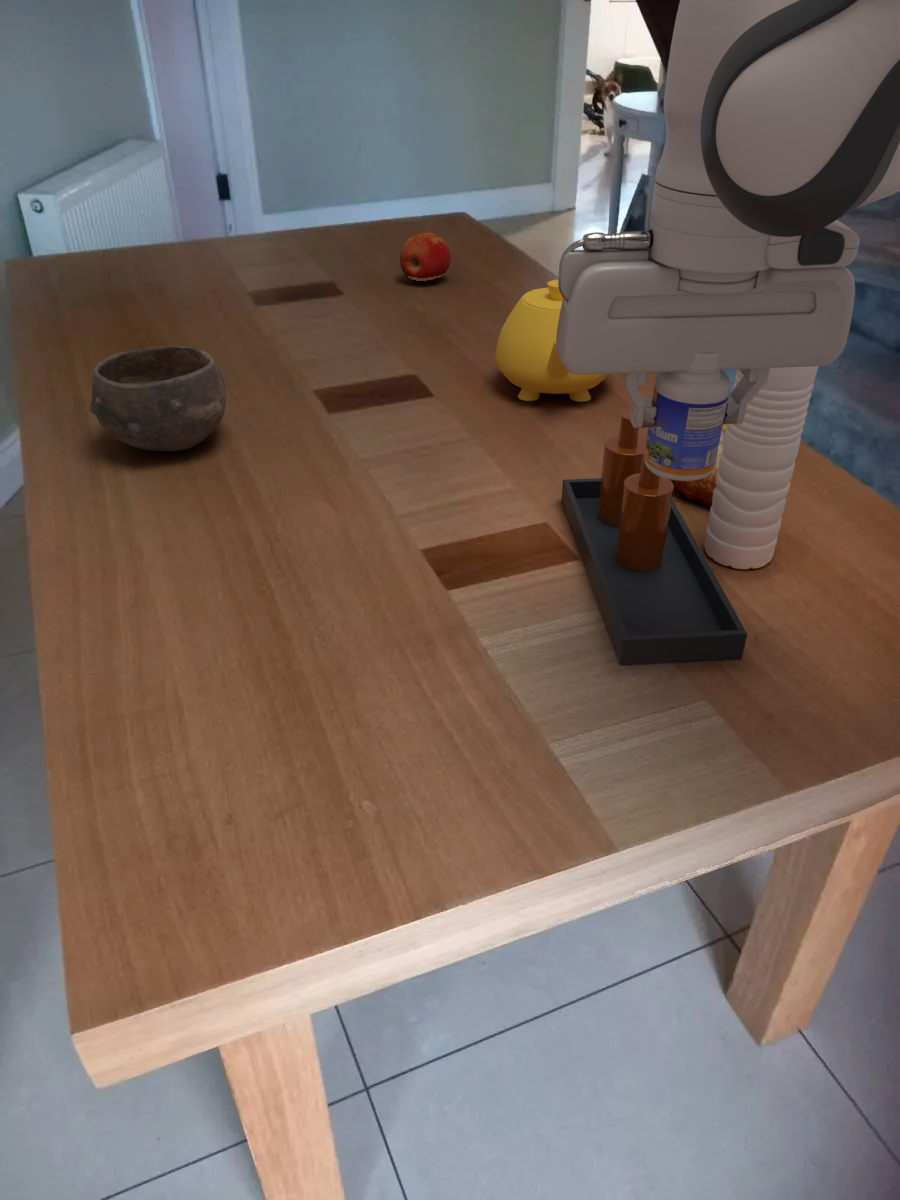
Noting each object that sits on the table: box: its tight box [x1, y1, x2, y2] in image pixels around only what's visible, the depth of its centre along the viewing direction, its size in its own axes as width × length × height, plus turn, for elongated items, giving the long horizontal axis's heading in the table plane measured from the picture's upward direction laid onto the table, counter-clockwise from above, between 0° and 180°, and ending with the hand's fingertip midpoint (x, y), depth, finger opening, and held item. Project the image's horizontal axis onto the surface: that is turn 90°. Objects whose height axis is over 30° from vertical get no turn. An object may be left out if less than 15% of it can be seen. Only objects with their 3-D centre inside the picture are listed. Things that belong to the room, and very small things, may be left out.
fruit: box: [672, 424, 727, 507], centre depth 97 cm, size 11×10×8 cm
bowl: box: [88, 345, 227, 452], centre depth 105 cm, size 14×15×10 cm
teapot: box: [494, 279, 610, 403], centre depth 116 cm, size 20×16×14 cm
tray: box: [560, 477, 748, 666], centre depth 85 cm, size 27×10×3 cm, turn 4°
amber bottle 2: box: [615, 451, 675, 572], centre depth 83 cm, size 4×4×11 cm
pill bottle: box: [644, 353, 731, 481], centre depth 68 cm, size 5×5×10 cm
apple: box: [399, 232, 452, 284], centre depth 158 cm, size 8×8×8 cm
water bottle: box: [703, 366, 820, 570], centre depth 82 cm, size 9×6×25 cm
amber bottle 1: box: [597, 411, 647, 527], centre depth 90 cm, size 4×4×11 cm
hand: (686, 423), depth 69 cm, fingers closed on pill bottle, 5 cm apart
